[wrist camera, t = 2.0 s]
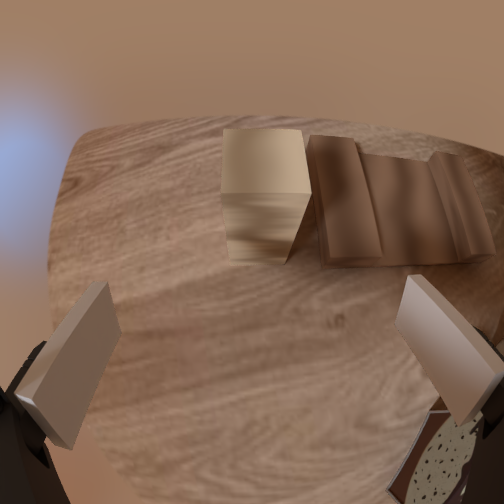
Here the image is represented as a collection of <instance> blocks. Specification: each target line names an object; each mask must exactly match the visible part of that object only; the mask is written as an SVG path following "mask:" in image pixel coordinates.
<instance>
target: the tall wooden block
mask: <svg viewBox="0 0 504 504" xmlns="http://www.w3.org/2000/svg"><path fill="white" fill-rule="evenodd" d="M311 194H312V193H311V186H310V179H309V173H308V167H307V161H306V155H305V149H304V143H303V137H302V132H301V130H288V129H224V131H223V150H222V173H221V200H222V208H223V216H224V223H225V231H226V239H227V246H228V253H229V261H230V265H280V264H285V262H286V260H287V257H288V254H289V252H290V249H291V247H292V244H293V242H294V239H295V236H296V234H297V231H298V229H299V226H300V223H301V221H302V218H303V215H304V213H305V210H306V207H307V205H308V202H309V199H310V196H311Z"/></svg>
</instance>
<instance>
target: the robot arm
mask: <svg viewBox="0 0 504 504" xmlns="http://www.w3.org/2000/svg"><path fill="white" fill-rule="evenodd" d="M394 325H395V326H396V328H397V329H398V331H399V332H400V334H401V335H402V337H403V338H404V340H405V341H406V342H407V344H408V346H409V347H410V349H411V350H412V352H413V353H414V355H415V356H416V358H417V359H418V361H419V362H420V364H421V365H422V367H423V369H424V370H425V372H426V373H427V375H428V377H429V378H430V380H431V381H432V383H433V385H434V386H435V388H436V390H437V391H438V393H439V395H440V396H441V398H442V400H443V401H444V403H445V405H446V406H447V408H448V410H449V412H450V413H451V415H452V417H453V419H454V420H455V422H456V424H457V426H458V427H460V426H462V425H464V424H466V423H469V422H471V421H472V420H473V419H474V418H475V417H476V415H477V414H478V413H479V411H481V412H482V414H483V416H482V417H481V419H480V420H479V421H478V422H477V423H476V425H475V426H474V427H473V428H472V429H471V431H470V435H472V434H473V433H474V431H475V430H476V429H477V428H478V432H477V433H476V434H475V436H477V439H476V445H475V450H474V455H473V460H472V464H471V468H470V472H469V476H468V480H467V484H466V487H465V491H464V494H463V498H462V501H461V504H504V356H503V355H502V354H501V353H500V352H499V351H498V349H497V348H496V347H494V345H493V344H492V343H491V341H489V339H488V338H487V337H486V336H485V335H484V334H483V333H482V331H480V330H479V329H477V328H475V327H474V326H472V325H471V324H470V323H469V322H468V321H467V320H466V319H465V318H464V317H463V316H462V315H461V314H460V313H459V312H458V311H457V309H456V308H455V307H454V306H453V305H452V304H451V303H450V302H449V301H448V300H447V299H446V298H445V297H444V296H443V295H442V294H441V293H440V292H439V291H438V290H437V289H436V288H435V287H434V286H433V285H432V284H430V283H429V282H428V281H427V280H426V279H425V278H424V277H423V276H422V275H421V274H418V275H408V277H407V281H406V285H405V289H404V293H403V296H402V300H401V304H400V307H399V311H398V314H397V317H396V321H395V324H394ZM121 333H122V332H121V329H120V326H119V322H118V319H117V315H116V312H115V308H114V304H113V301H112V297H111V293H110V289H109V285H108V282H92V283H91V285H90V286H89V287H88V288H87V289H86V291H85V292H84V293H83V294H82V296H81V297H80V298H79V300H78V301H77V302H76V303H75V305H74V306H73V307H72V309H71V310H70V311H69V312H68V314H67V315H66V316H65V318H64V319H63V320H62V322H61V323H60V325H59V326H58V327H57V329H56V330H55V331H54V333H53V334H52V336H51V337H50V338H49V340H48V341H43V342H42V343H40V344H39V345H38V346H37V347H35V348H34V349H33V351H32V352H31V354H30V355H29V356H28V360H26V361H25V362H24V364H23V367H21V368H20V370H19V371H18V373H17V374H16V376H15V377H14V379H13V380H12V382H11V384H10V386H9V387H8V389H7V390H6V392H5V393H4V391H3V390H2V388H1V387H0V504H70V501H69V499H68V497H67V495H66V493H65V491H64V489H63V486H62V484H61V481H60V479H59V477H58V474H57V472H56V470H55V467H54V464H53V462H52V459H51V456H50V453H49V450H48V448H47V446H46V444H45V443H44V440H45V438H46V436H47V437H48V438H49V439H50V440H51V441H52V443H53V444H54V445H56V446H59V447H62V448H65V449H69V450H72V449H73V446H74V444H75V441H76V438H77V436H78V433H79V430H80V427H81V425H82V422H83V420H84V417H85V415H86V412H87V410H88V407H89V405H90V402H91V400H92V398H93V395H94V393H95V391H96V388H97V386H98V384H99V381H100V379H101V377H102V374H103V372H104V370H105V368H106V365H107V363H108V361H109V359H110V357H111V355H112V352H113V350H114V348H115V346H116V344H117V342H118V340H119V338H120V336H121Z"/></svg>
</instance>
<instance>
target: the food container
mask: <svg viewBox="0 0 504 504" xmlns="http://www.w3.org/2000/svg"><path fill="white" fill-rule="evenodd" d="M482 416H483V414H482V412H481V411H479V413H478V414H477V415H476V417H475V418H474V419H473V420H472V421H471V422H469V423H466V424H464V425H462V426H460V427H458V426H457V424H456V422H455V420H454V419H453V417H452V415H451V413H450V412H449V410H434V411H429V412H428V414H427V416H426V418H425V420H424V423H423V425H422V427H421V429H420V431H419V433H418V435H417V437H416V439H415V441H414V443H413V445H412V447H411V448H410V450H409V452H408V454H407V456H406V457H405V459H404V461H403V463H402V464H401V466H400V468H399V469H398V471H397V473H396V474H395V476H394V478H393V479H392V481H391V482H390V484H389V486H388V487H387V489H386V490H385V491H386V492H387V493H388V494H389V495H390V496H391V497H392V498H393V500H394V501H395V502H396V503H397V504H461V501H462V498H463V494H464V491H465V487H466V484H467V480H468V476H469V472H470V468H471V464H472V460H473V455H474V450H475V445H476V439H477V436H475V434H476V433H477V432H478V428H477V429H476V430H475V431H474V433H473V434H472V435H470V431H471V429H472V428H473V427H474V426H475V425H476V423H477V422H478V421H479V420H480V419H481V417H482Z"/></svg>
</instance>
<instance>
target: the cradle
mask: <svg viewBox="0 0 504 504" xmlns="http://www.w3.org/2000/svg"><path fill="white" fill-rule="evenodd" d="M306 156H307V162H308V168H309V175H310V181H311V187H312V194H313V201H314V208H315V216H316V223H317V231H318V239H319V248H320V257H321V266H322V269H329V268H364V267H393V266H419V265H441V264H462V263H481V262H484V261H485V260H487V259H489V258H490V257H492V256H494V255H495V254H497V253H496V249H495V246H494V242H493V238H492V235H491V232H490V228H489V225H488V222H487V219H486V216H485V213H484V210H483V207H482V204H481V201H480V199H479V196H478V193H477V191H476V188H475V186H474V183H473V181H472V178H471V176H470V174H469V171H468V169H467V167H466V164H465V162H464V160H463V158H462V157H461V156H457V155H453V154H448V153H443V152H439V151H436V152H435V153H434V154H433V156H432V157H431V158H430V160H429V161H428V162H423V161H417V160H410V159H403V158H396V157H388V156H380V155H371V154H361V153H358V152H357V148H356V145H355V142H354V139H353V138H346V137H335V136H322V135H310V138H309V142H308V146H307V150H306Z"/></svg>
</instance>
